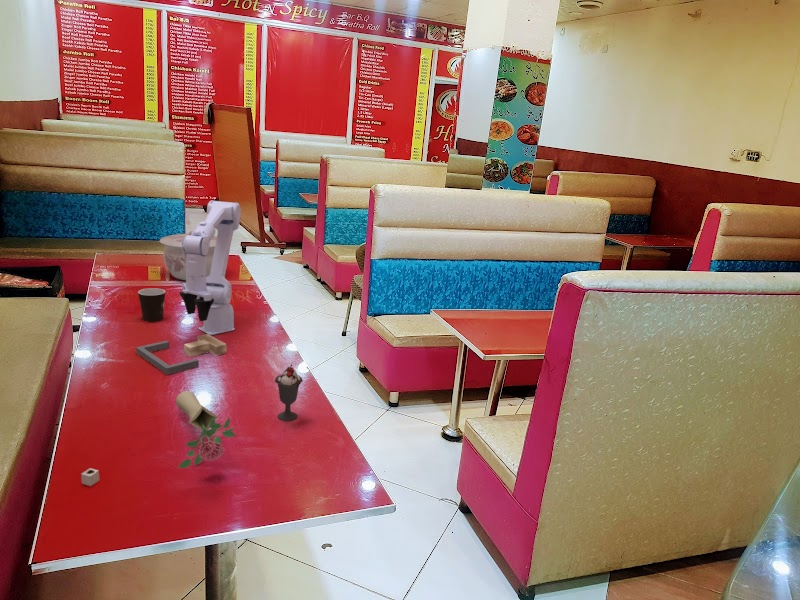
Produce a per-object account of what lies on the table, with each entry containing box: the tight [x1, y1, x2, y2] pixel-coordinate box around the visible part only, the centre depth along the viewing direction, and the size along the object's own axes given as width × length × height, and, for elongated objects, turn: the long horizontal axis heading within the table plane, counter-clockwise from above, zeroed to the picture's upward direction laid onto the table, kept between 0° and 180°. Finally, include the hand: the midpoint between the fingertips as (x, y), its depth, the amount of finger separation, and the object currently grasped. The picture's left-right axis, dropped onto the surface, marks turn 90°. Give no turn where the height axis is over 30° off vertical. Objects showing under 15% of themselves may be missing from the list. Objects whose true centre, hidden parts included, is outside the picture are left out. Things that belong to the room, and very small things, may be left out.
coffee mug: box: [137, 287, 166, 323], centre depth 198 cm, size 12×9×10 cm
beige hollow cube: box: [80, 467, 100, 487], centre depth 110 cm, size 2×2×2 cm
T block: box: [183, 333, 227, 358], centre depth 175 cm, size 10×11×3 cm
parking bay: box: [135, 340, 200, 376], centre depth 167 cm, size 10×19×2 cm, turn 48°
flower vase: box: [175, 390, 237, 469], centre depth 125 cm, size 12×12×35 cm
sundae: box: [274, 363, 304, 422], centre depth 139 cm, size 7×7×15 cm
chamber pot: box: [159, 230, 217, 282], centre depth 249 cm, size 28×28×21 cm
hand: (197, 316), depth 176 cm, fingers open, 7 cm apart
